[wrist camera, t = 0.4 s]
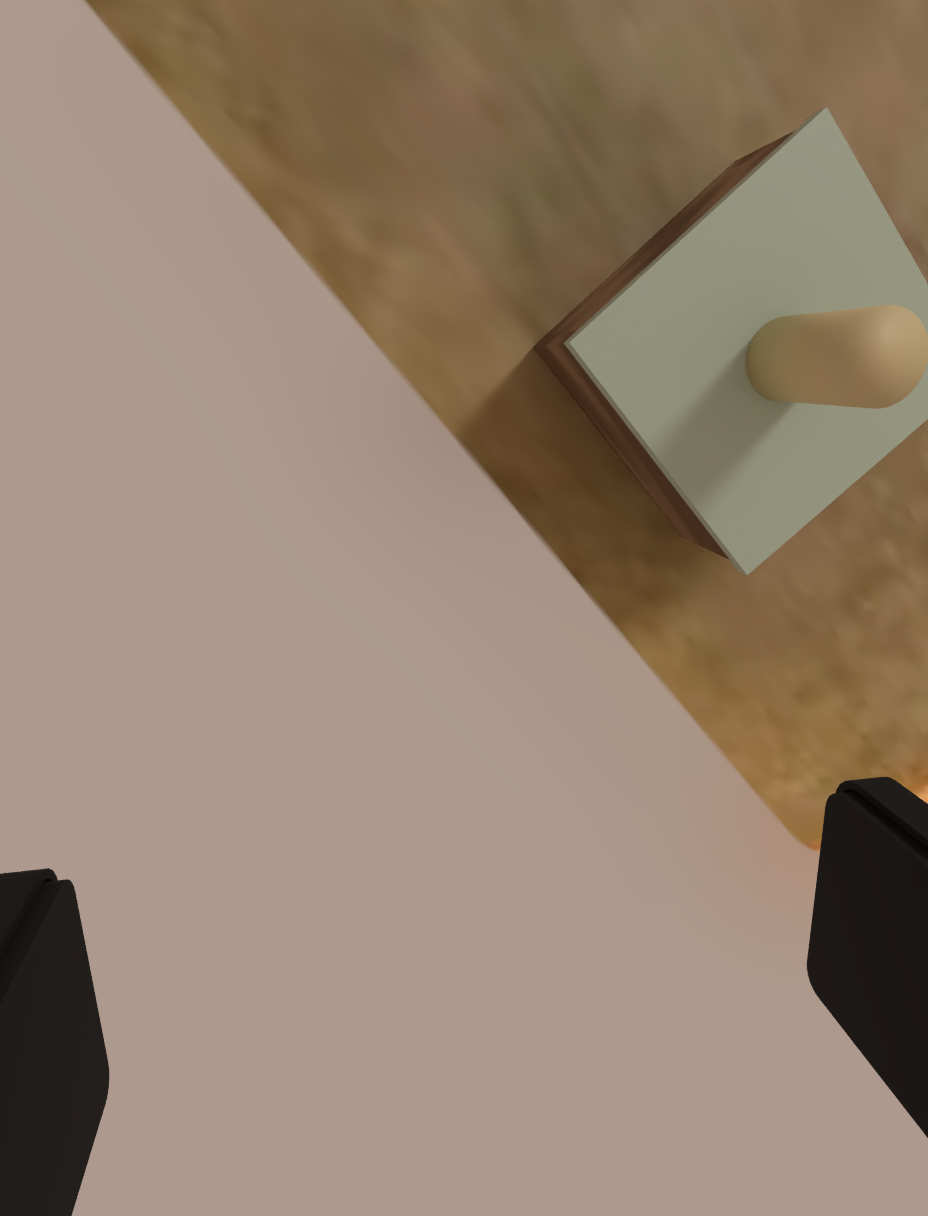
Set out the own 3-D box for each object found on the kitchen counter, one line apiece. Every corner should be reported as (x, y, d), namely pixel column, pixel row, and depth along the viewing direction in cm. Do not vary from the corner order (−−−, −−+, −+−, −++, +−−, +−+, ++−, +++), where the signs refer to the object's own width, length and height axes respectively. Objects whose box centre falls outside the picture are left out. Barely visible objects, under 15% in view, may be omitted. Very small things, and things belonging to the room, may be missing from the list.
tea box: (735, 160, 36) (812, 121, 30) (868, 372, 39) (958, 373, 34) (533, 347, 37) (570, 343, 31) (681, 536, 40) (739, 564, 35)
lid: (805, 117, 30) (946, 44, 23) (954, 373, 34) (1113, 376, 27) (559, 343, 31) (625, 337, 24) (731, 567, 35) (831, 617, 28)
